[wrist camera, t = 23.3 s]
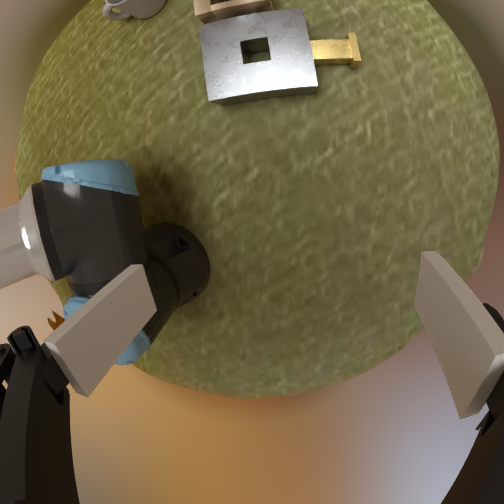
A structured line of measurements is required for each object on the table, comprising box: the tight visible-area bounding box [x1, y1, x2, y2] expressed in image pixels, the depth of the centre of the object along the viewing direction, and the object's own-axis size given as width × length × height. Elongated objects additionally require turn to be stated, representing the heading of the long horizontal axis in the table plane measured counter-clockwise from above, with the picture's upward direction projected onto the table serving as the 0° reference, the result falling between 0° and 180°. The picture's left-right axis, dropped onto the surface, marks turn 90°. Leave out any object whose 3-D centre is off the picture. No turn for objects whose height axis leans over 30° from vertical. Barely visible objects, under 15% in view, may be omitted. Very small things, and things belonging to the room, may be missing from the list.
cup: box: [103, 0, 166, 20], centre depth 27 cm, size 7×10×9 cm
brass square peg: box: [310, 33, 361, 68], centre depth 30 cm, size 10×4×4 cm, turn 98°
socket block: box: [199, 8, 318, 106], centre depth 31 cm, size 14×12×6 cm
